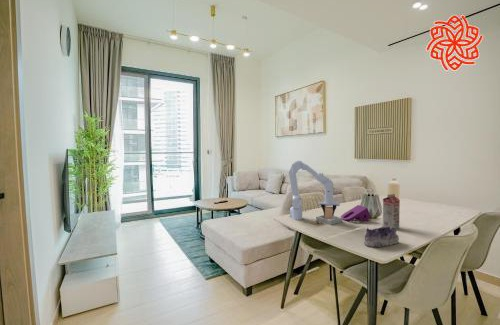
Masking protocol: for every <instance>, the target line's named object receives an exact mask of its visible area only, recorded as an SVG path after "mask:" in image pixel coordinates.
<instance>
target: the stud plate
mask: <svg viewBox="0 0 500 325" xmlns="http://www.w3.org/2000/svg"><path fill="white" fill-rule="evenodd" d="M309 224H310V225H313V226H315V227H322V226H325V225H327V224H326V223H324V222H321V221H320V220H319V219H316V218H315V221H311V222H310V221H309Z"/></svg>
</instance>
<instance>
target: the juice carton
mask: <svg viewBox="0 0 500 325" xmlns="http://www.w3.org/2000/svg"><path fill="white" fill-rule="evenodd" d="M400 205H401V204H400V199H399V198H398V197H397V196H396V195H395V193H392V194H391V193H390V194H387V197H385V198H383V199H382V227H383V226H384V227H390V229H391V228H395V229H396V230H398V229H400Z"/></svg>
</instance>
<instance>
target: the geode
mask: <svg viewBox="0 0 500 325" xmlns="http://www.w3.org/2000/svg"><path fill="white" fill-rule="evenodd" d="M365 231H366V233H365V234H364V235H365V236H364V245H365V246H366V247H367V248H375V249H376V248H377V249H379V248H382V247H387V246H392V245H396V244H399V242H400V241H399V240H400V236H399V235H398V234H397V231H398V229H395V228H391V229H390V227H384V226H383V225H382V226H381V227H378V228H373V229H369V228H366V230H365Z"/></svg>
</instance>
